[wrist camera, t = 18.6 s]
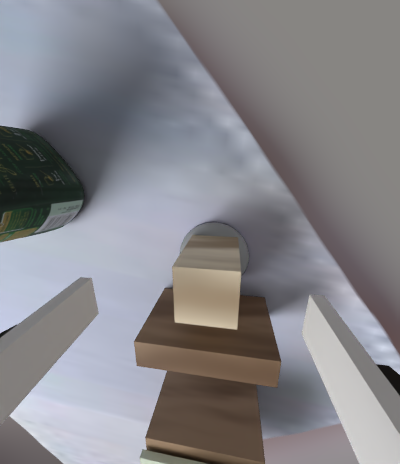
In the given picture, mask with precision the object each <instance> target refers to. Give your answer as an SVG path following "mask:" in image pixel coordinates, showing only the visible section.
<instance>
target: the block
mask: <svg viewBox="0 0 400 464" xmlns="http://www.w3.org/2000/svg"><path fill="white" fill-rule="evenodd" d="M172 271H173V294H174V317H175V322H176V323H184V324H193V325H201V326H210V327H218V328H227V329H236V330H237V326H238V311H239V297H240V282H241V264H240V253H239V242H238V237H223V236H203V235H192V236H191V238H190V239H189V241H188V243H187V244H186V246H185V247H184V249H183V251H182V252H181V254H180V255H179V257H178V258H177V260H176V262H175V263H174V265H173V266H172Z"/></svg>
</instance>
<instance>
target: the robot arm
mask: <svg viewBox="0 0 400 464" xmlns="http://www.w3.org/2000/svg"><path fill="white" fill-rule="evenodd" d="M98 314H99V313H98V308H97V303H96V298H95V293H94V288H93V283H92V278H83V277H80V278H79V279H78V280H76V281H75V282H74V283H72V284H71V285H70V286H68V287H67V288H66V289H64V290H63V291H62V292H61V293H59V294H58V295H57V296H55V297H54V298H53V299H51V300H50V301H49V302H47V303H46V304H45V305H43V306H42V307H41V308H39V309H38V310H37V311H35V312H34V313H33V314H31V315H30V316H29V317H27V318H26V319H25V320H23V321H22V322H21V323H19V324H18V325H15V326H13V327H11V328H9V329H8V330H6V331H4V332H2V333H1V334H0V425H1V424H2V423H3V422H4V421H5V420H6V419H7V417H8V416H9V415H10V414H11V413H12V412H13V411H14V409H15V408H16V407H17V406H18V405H19V404H20V403H21V402H22V400H23V399H24V398H25V397H26V396H27V395H28V394H29V392H30V391H31V390H32V389H33V388H34V387H35V386H36V384H37V383H38V382H39V381H40V380H41V379H42V378H43V376H44V375H45V374H46V373H47V372H48V371H49V370H50V368H51V367H52V366H53V365H54V364H55V363H56V362H57V360H58V359H59V358H60V357H61V356H62V355H63V354H64V352H65V351H66V350H67V349H68V348H69V347H70V346H71V344H72V343H73V342H74V341H75V340H76V339H77V338H78V337H79V335H80V334H81V333H82V332H83V331H84V330H85V329H86V327H87V326H88V325H89V324H90V323H91V322H92V321H93V319H94V318H95V317H96V316H97V315H98ZM302 336H303V338H304V340H305V342H306V345H307V347H308V349H309V351H310V354H311V356H312V358H313V360H314V363H315V365H316V367H317V369H318V372H319V374H320V376H321V378H322V381H323V383H324V385H325V387H326V390H327V392H328V394H329V396H330V399H331V401H332V403H333V405H334V408H335V410H336V412H337V414H338V417H339V419H340V421H341V423H342V426H343V428H344V430H345V432H346V435H347V437H348V439H349V441H350V444H351V446H352V448H353V450H354V453H355V455H356V457H357V459H358V462H359V464H400V375H399V374H398V373H397V372H396V371H394V370H393V369H392V368H391V367H389V366H386V365H377V364H375V362H374V361H373V360H372V358H371V357H370V356H369V354H368V353H367V352H366V350H365V349H364V348H363V346H362V345H361V344H360V342H359V341H358V340H357V338H356V337H355V336H354V334H353V333H352V332H351V330H350V329H349V328H348V326H347V325H346V324H345V322H344V321H343V320H342V318H341V317H340V316H339V314H338V313H337V312H336V310H335V309H334V308H333V307H332V305H331V304H330V303H329V301H328V300H327V299H326V297H325V296H323V295H309V300H308V305H307V310H306V314H305V319H304V324H303V329H302Z"/></svg>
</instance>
